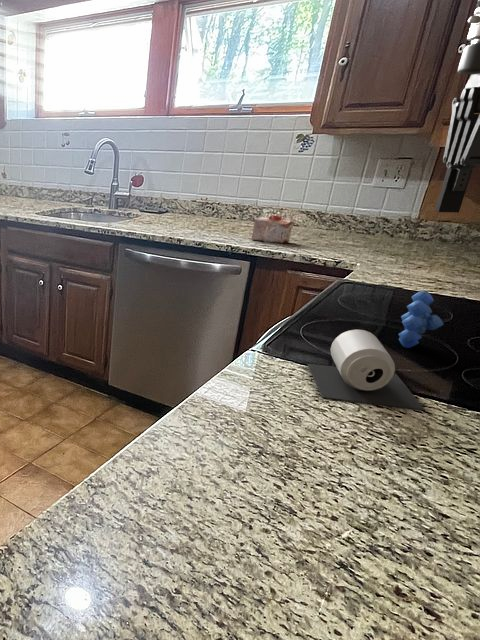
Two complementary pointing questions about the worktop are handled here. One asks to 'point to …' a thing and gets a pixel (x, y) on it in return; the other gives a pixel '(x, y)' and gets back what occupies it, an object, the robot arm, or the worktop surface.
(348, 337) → the can
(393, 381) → the mat
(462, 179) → the robot arm
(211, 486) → the worktop surface
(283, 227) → the food item
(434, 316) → the grapes
